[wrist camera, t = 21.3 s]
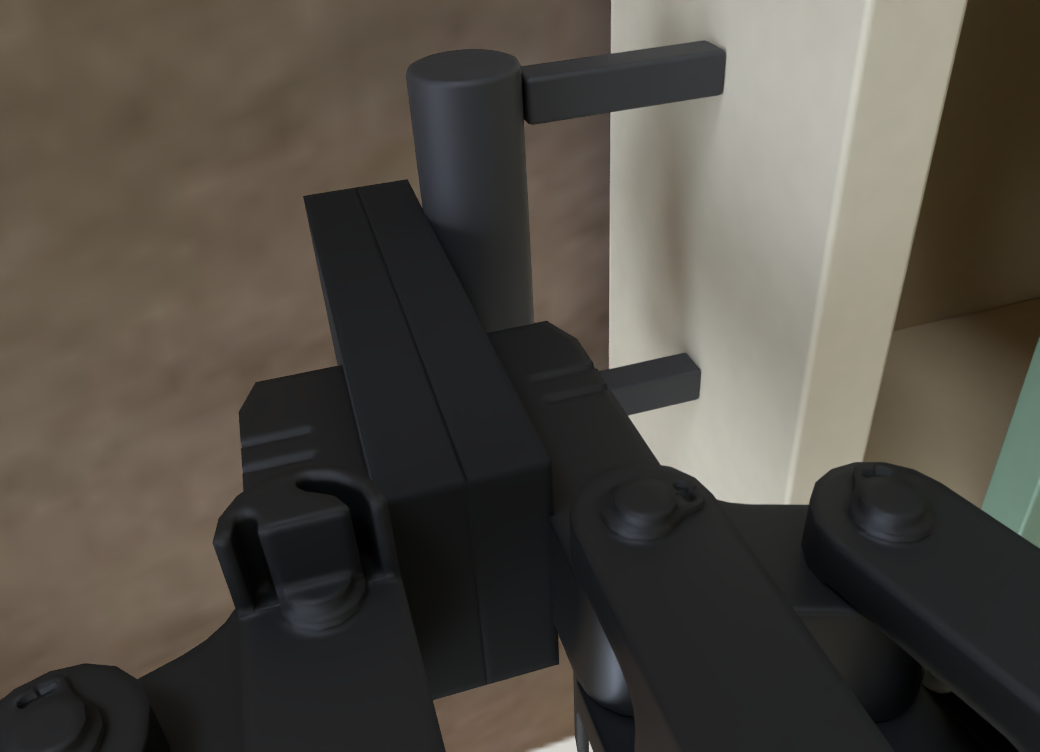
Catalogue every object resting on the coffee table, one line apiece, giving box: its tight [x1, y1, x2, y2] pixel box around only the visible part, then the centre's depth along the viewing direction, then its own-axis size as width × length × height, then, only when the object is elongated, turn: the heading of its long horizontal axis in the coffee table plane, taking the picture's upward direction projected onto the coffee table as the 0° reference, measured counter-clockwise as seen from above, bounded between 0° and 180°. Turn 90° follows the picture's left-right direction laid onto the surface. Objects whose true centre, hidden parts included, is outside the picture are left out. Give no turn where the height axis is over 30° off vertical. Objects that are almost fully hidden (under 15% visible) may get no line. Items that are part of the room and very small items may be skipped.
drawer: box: [406, 0, 1040, 509], centre depth 14 cm, size 18×12×7 cm
